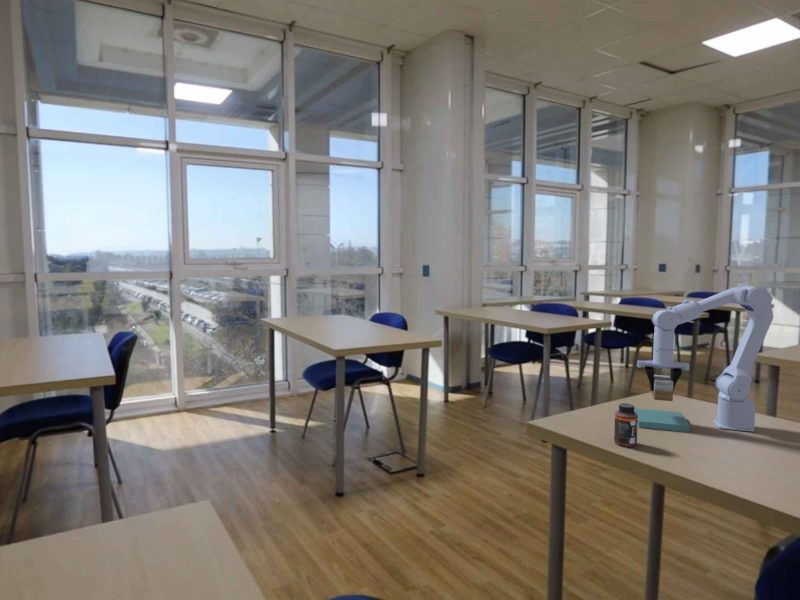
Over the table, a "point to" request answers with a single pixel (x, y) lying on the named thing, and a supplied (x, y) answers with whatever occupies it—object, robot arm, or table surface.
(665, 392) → the block
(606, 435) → the table surface
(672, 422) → the teal stand
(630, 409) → the supplement bottle
